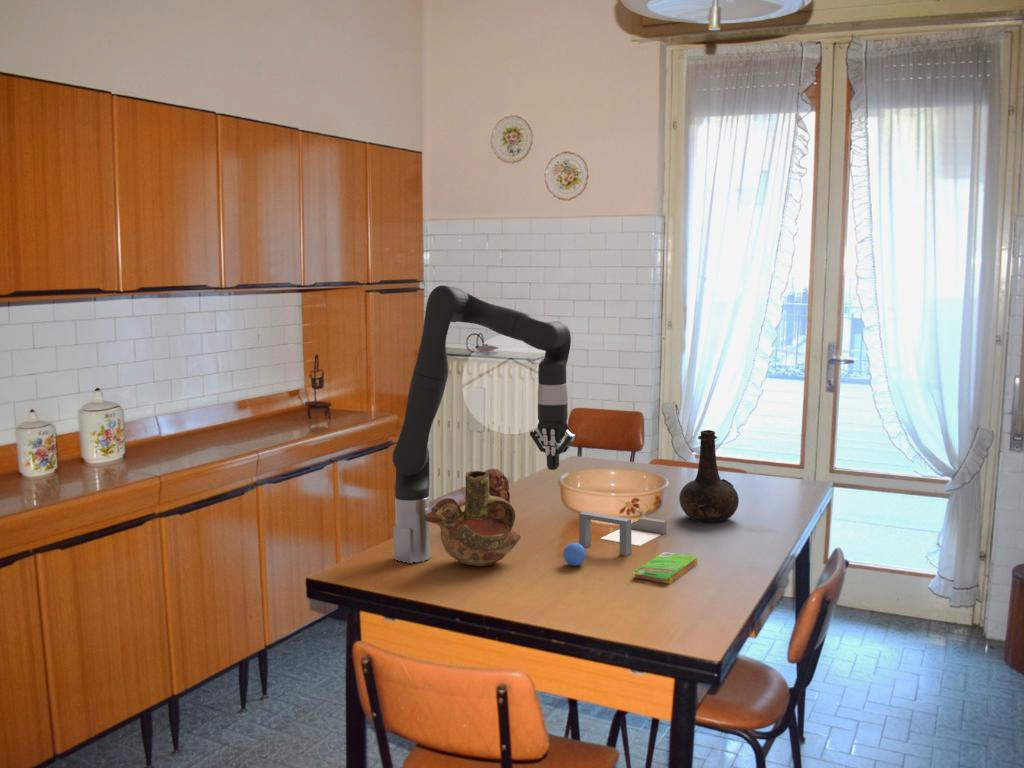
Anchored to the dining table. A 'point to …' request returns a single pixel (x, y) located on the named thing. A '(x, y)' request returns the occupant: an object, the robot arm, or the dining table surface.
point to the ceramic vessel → (475, 524)
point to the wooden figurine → (498, 491)
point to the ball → (574, 554)
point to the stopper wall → (650, 525)
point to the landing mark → (632, 537)
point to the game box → (665, 567)
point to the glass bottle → (708, 488)
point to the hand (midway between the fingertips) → (553, 469)
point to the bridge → (623, 522)
